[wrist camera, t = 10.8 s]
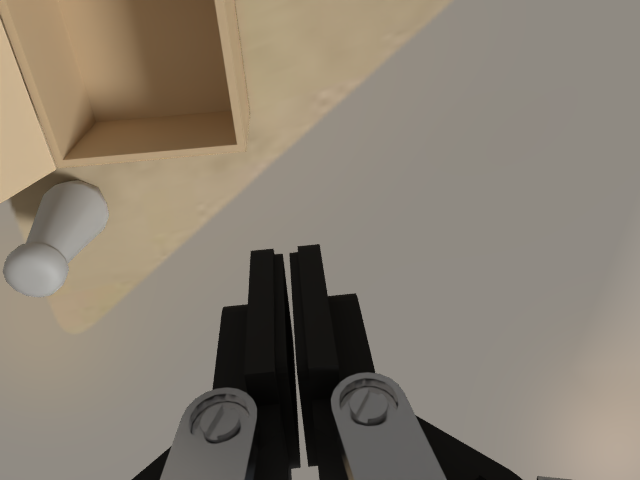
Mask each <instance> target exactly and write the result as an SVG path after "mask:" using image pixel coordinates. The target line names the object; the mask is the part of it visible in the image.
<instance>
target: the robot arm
mask: <svg viewBox="0 0 640 480" xmlns="http://www.w3.org/2000/svg"><path fill="white" fill-rule="evenodd" d="M250 258H251V259H250V276H249V294H248V304H247V305H237V306H228V307H223V310H222V316H221V324H220V333H219V341H218V349H217V357H216V367H215V374H214V382H213V390H212V391H208V392H206V393H204V394H202V395H201V396H199V397H198V398H196V399H195V400H194V401H193V402H192V403H191V404H190V405H189V406H188V407H187V409H186V410H185V412H184V414H183V416H182V418H181V421H180V424H179V427H178V430H177V432H176V435H175V438H174V441H173V444H172V446H171V447H170V448H169V449H168V450H166V451H165V452H164V453H163V454H162V455H160V456H159V457H158V458H157V459H156V460H155V461H153V462H152V463H151V464H150V465H149V466H147V467H146V468H145V469H144V470H143V471H141V472H140V473H139V474H138V475H137V476H136V477H134V478H133V479H132V480H292V477H291V469H293V468H300V450H299V449H300V448H299V431H298V414H297V398H296V380H295V363H294V347H293V336H292V327H291V319H290V311H289V302H288V294H287V286H286V277H285V269H284V261H283V254H275V255H274V250H273V249H266V250H256V251H251V257H250ZM290 269H291V285H292V302H293V317H294V334H295V350H296V364H297V375H298V384H299V392H300V401H301V409H302V417H303V426H304V434H305V443H306V451H307V459H308V466H309V467H310V466H318V470H319V479H320V480H522V479H521V478H520V477H519V476H517V475H516V474H515V473H513V472H512V471H511V470H509V469H507V468H506V467H504V466H502V465H501V464H499V463H497V462H495V461H494V460H492V459H490V458H488V457H487V456H485V455H483V454H482V453H480V452H478V451H476V450H474V449H473V448H471V447H469V446H468V445H466V444H464V443H462V442H461V441H459V440H457V439H456V438H454V437H452V436H450V435H449V434H447V433H445V432H443V431H442V430H440V429H438V428H437V427H435V426H433V425H431V424H430V423H428V422H426V421H424V420H423V419H421V418H419V417H417V416H416V415H415V414H414V412H413V410H412V408H411V405H410V403H409V401H408V400H407V397H406V395H405V393H404V392H403V390H402V389H401V387H400V386H399V385H398V384H397V383H396V382H395V381H393V380H392V379H390V378H389V377H386V376H383V375H381V374H377V373H375V369H374V365H373V361H372V357H371V352H370V348H369V344H368V340H367V336H366V331H365V327H364V323H363V319H362V314H361V310H360V306H359V302H358V298H357V295H356V294H345V295H336V296H328V295H327V289H326V283H325V276H324V270H323V263H322V257H321V251H320V245H319V244H317V245H307V246H298V252H295V253H290ZM537 480H570V479H560V478H550V477H541V476H537Z"/></svg>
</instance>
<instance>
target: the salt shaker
mask: <svg viewBox="0 0 640 480" xmlns="http://www.w3.org/2000/svg"><path fill="white" fill-rule="evenodd" d="M108 217H109V212H108V208H107V203H106V201H105V199H104V198H103V196H102V194H101V192H100V190H99V188H98V187H96V186H93V185H91V184H88V183H85V182H83V181H80V180H75V181H69V182H64V183H60V184H56V185H55V186H53V187H52V188H51V189H50V190H48V191H47V192H46V193H45V194H44V195H43V197H42V200H41V203H40V206H39V208H38V211H37V214H36V217H35V219H34V222H33V225H32V228H31V231H30V233H29V236H28V239H27V242H26V244H22V245H20V246H18V247H17V248H16V249H15V250H14V251H12V252H11V253H10V254H9V255H8V256H7V259H6V261H5V264H4V268H3V274H4V277H5V279H6V282H7V283H8V284H9V285H10V286H11V287H12V288H13V289H15V290H16V291H18V292H20V293H22V294H24V295H26V296H33V297H44V296H49V295H52V294H53V293H54V292H56V291H57V290H58V289H59V288H60V287H61V286H62V285H63V284H64V282H65V280H66V277H67V274H68V271H69V267H68V263H69V262H70V261H71V260H72V259H73V258H74V257H75V256H76V255H77V254H78V253H79V252H80V251H81V250H82V249H83V248H84V247H85V246H86V245H87V244H88V243H89V242H90V241H92V240H93V239H94V238H95V237H96V236H97V235H98V234H99V233H100V232H101V231H102V230H103V229H104V228H105V226H106V223H107V220H108Z"/></svg>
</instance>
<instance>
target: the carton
mask: <svg viewBox="0 0 640 480" xmlns="http://www.w3.org/2000/svg"><path fill="white" fill-rule="evenodd" d="M0 15H1V17H2V20H3V23H4V26H5V28H6V31H7V34H8V36H9V39H10V42H11V45H12V47H13V50H14V53H15V55H16V58H17V61H18V64H19V66H20V69H21V72H22V74H23V77H24V80H25V83H26V85H27V88H28V91H29V93H30V96H31V99H32V102H33V104H34V107H35V110H36V112H37V115H38V118H39V121H40V123H41V126H42V129H43V131H44V134H45V137H46V140H47V142H48V145H49V148H50V150H51V153H52V156H53V159H54V161H55V164H56V167H57V168H67V167H78V166H89V165H100V164H112V163H123V162H134V161H145V160H157V159H168V158H179V157H190V156H201V155H213V154H224V153H235V152H246V150H247V140H248V129H249V119H250V109H249V102H248V95H247V87H246V80H245V73H244V65H243V58H242V51H241V44H240V36H239V29H238V22H237V14H236V7H235V0H0Z"/></svg>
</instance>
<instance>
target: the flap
mask: <svg viewBox="0 0 640 480" xmlns="http://www.w3.org/2000/svg"><path fill="white" fill-rule="evenodd" d="M54 170H56V168H55V165H54V162H53V160H52V157H51V154H50V151H49V149H48V146H47V143H46V141H45V138H44V135H43V133H42V130H41V127H40V124H39V122H38V119H37V116H36V114H35V111H34V108H33V106H32V103H31V100H30V97H29V95H28V92H27V89H26V87H25V84H24V81H23V79H22V76H21V73H20V70H19V68H18V65H17V62H16V60H15V57H14V54H13V52H12V49H11V46H10V43H9V41H8V38H7V35H6V33H5V30H4V27H3V25H2V22H1V19H0V203H2V202H4V201H5V200H7V199H9V198H10V197H12V196H14V195H15V194H17V193H19V192H20V191H22V190H23V189H25V188H27V187H28V186H30V185H32V184H33V183H35V182H37V181H38V180H40V179H41V178H43V177H45V176H46V175H48V174H50V173H51V172H53V171H54Z"/></svg>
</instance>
